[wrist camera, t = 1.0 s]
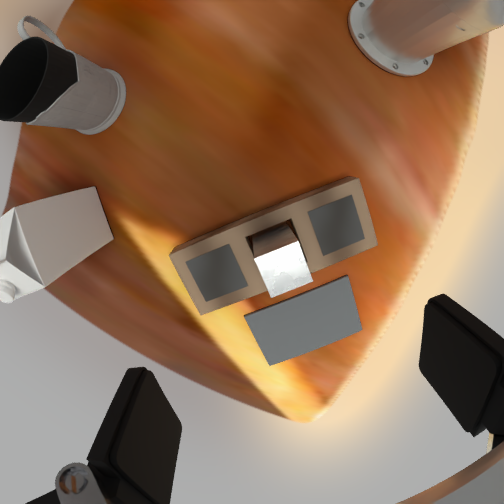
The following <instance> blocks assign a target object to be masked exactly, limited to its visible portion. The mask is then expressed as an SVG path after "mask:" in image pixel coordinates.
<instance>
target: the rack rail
mask: <svg viewBox="0 0 504 504" xmlns="http://www.w3.org/2000/svg"><path fill="white" fill-rule="evenodd" d="M289 219H290V221H291V224H292V226H293V229H294V232H295V234H296V237H297V240H298V242H299V244H300V247H301V250H302V252H303V255H304V258H305V261H306V263H307V266H308V269H309V272H310V274H311V273H313V272H316V271H318V270H320V269H323V268H325V267H328V266H330V265H333V264H335V263H337V262H340V261H342V260H344V259H347V258H349V257H351V256H354V255H356V254H358V253H361V252H363V251H365V250H368V249H370V248H372V247H375V246H377V245H378V243H377V239H376V235H375V231H374V227H373V224H372V220H371V216H370V213H369V209H368V206H367V203H366V199H365V196H364V193H363V190H362V187H361V183H360V180H359V178H356V177H350V176H349V177H346V178H344V179H341V180H338V181H336V182H333V183H330V184H328V185H325V186H322V187H320V188H317V189H315V190H312V191H309V192H307V193H304V194H302V195H299V196H297V197H294V198H292V199H289V200H287V201H284V202H282V203H279V204H277V205H274V206H272V207H269V208H267V209H264V210H262V211H259V212H257V213H254V214H252V215H250V216H247V217H245V218H242V219H240V220H237V221H235V222H233V223H230V224H228V225H225V226H223V227H221V228H218V229H216V230H214V231H211V232H209V233H207V234H204V235H202V236H200V237H197V238H195V239H193V240H190V241H188V242H186V243H184V244H181V245H179V246H177V247H175V248H174V249H173V250H172V252H171V253H170V254H169V257H170V259H171V261H172V263H173V265H174V267H175V269H176V270H177V272H178V274H179V276H180V278H181V280H182V282H183V284H184V286H185V288H186V289H187V291H188V293H189V295H190V297H191V299H192V300H193V302H194V304H195V306H196V308H197V309H198V311H199V313H200V315H203V314H206V313H209V312H212V311H214V310H217V309H220V308H223V307H225V306H228V305H231V304H233V303H236V302H239V301H242V300H244V299H247V298H250V297H252V296H255V295H257V294H260V293H263V292H265V291H268V289H267V287H266V285H265V282H264V280H263V278H262V276H261V273H260V271H259V269H258V266H257V264H256V262H255V260H254V251H253V248H252V245H251V243H250V241H249V239H248V236H249V235H251V234H254V233H256V232H259V231H261V230H264V229H266V228H269V227H271V226H274V225H276V224H279V223H281V222H284V221H286V220H289Z"/></svg>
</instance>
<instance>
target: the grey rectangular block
mask: <svg viewBox="0 0 504 504" xmlns="http://www.w3.org/2000/svg"><path fill="white" fill-rule="evenodd" d="M252 240H253V251H254V260H255V262H256V264H257V266H258V269H259V271H260V273H261V276H262V278H263V280H264V282H265V285H266V287H267V289H268V291H269V294H270V296H271V298H272V297H274V296H277V295H280V294H282V293H285V292H287V291H290V290H292V289H295V288H297V287H300V286H302V285H305V284H307V283H310V282H312V281H313V280H312V277H311V274H310V272H309V269H308V266H307V263H306V261H305V258H304V255H303V252H302V250H301V247H300V244H299V242H298V240H297V238H296V237H295V235H294V234H293V232H292V231H291V229H290V228H289V226H288V225H287V223H286V222H285V221H284V222H281V223H279V224H276V225H274V226H271V227H269V228H266V229H264V230H261V231H259V232H256V233H254V234H252Z"/></svg>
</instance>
